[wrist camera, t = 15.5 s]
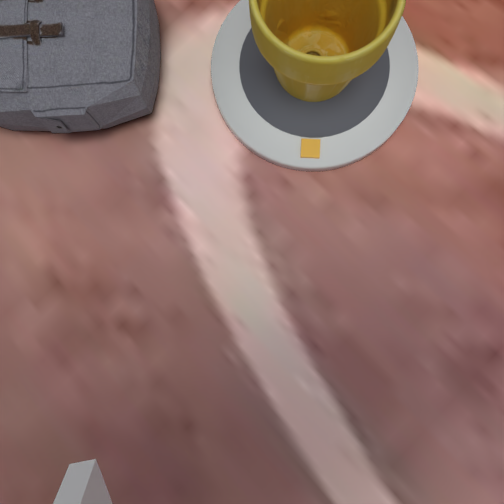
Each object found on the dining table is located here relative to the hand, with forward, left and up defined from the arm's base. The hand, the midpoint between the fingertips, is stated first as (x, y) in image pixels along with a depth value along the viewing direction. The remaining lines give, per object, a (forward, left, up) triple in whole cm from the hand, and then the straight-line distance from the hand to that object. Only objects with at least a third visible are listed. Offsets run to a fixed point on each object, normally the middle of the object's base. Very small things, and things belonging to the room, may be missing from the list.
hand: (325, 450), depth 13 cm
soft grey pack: (-22, +25, -25) cm, 41 cm away
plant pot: (+1, +25, -23) cm, 33 cm away
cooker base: (+1, +25, -24) cm, 35 cm away
